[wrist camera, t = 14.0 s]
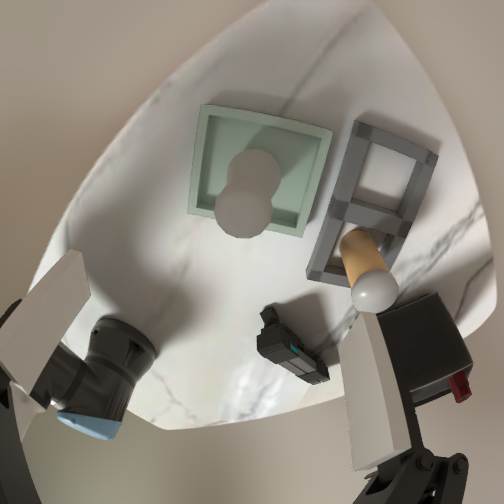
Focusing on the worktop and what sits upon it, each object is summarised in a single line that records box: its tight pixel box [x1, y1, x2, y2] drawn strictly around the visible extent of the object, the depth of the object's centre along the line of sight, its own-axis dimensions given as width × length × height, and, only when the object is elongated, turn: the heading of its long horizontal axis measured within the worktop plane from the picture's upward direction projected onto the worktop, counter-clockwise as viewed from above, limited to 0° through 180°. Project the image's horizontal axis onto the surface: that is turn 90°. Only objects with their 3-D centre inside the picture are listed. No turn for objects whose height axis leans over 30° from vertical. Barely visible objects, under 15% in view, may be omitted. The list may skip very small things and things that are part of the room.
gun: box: [257, 307, 330, 385], centre depth 44 cm, size 4×20×10 cm, turn 34°
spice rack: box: [306, 120, 439, 313], centre depth 28 cm, size 11×21×10 cm, turn 169°
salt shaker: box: [214, 149, 282, 238], centre depth 24 cm, size 6×6×13 cm
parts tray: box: [187, 104, 333, 238], centre depth 29 cm, size 14×13×2 cm
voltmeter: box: [349, 292, 474, 407], centre depth 35 cm, size 16×16×20 cm
